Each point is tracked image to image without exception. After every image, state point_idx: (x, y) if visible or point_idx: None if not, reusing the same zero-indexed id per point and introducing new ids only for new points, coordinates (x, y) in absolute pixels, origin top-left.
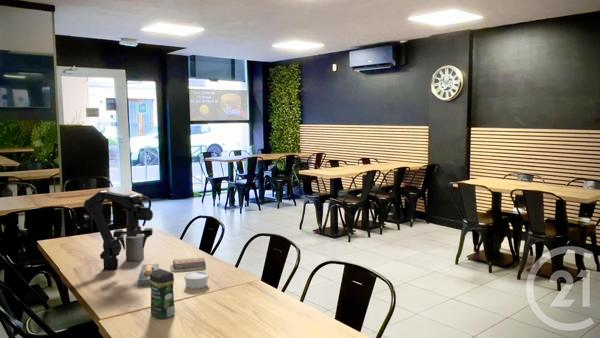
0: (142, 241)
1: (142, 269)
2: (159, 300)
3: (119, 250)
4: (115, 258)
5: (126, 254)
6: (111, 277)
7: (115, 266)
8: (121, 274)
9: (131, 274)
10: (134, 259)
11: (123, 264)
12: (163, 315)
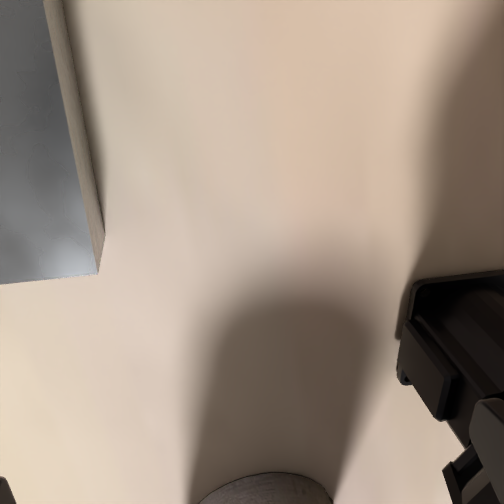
0: None
1: (24, 23)
2: None
3: (489, 498)
4: (479, 385)
5: None
6: (469, 6)
7: (429, 319)
8: (351, 113)
9: (224, 90)
10: (258, 495)
11: (346, 416)
12: None
